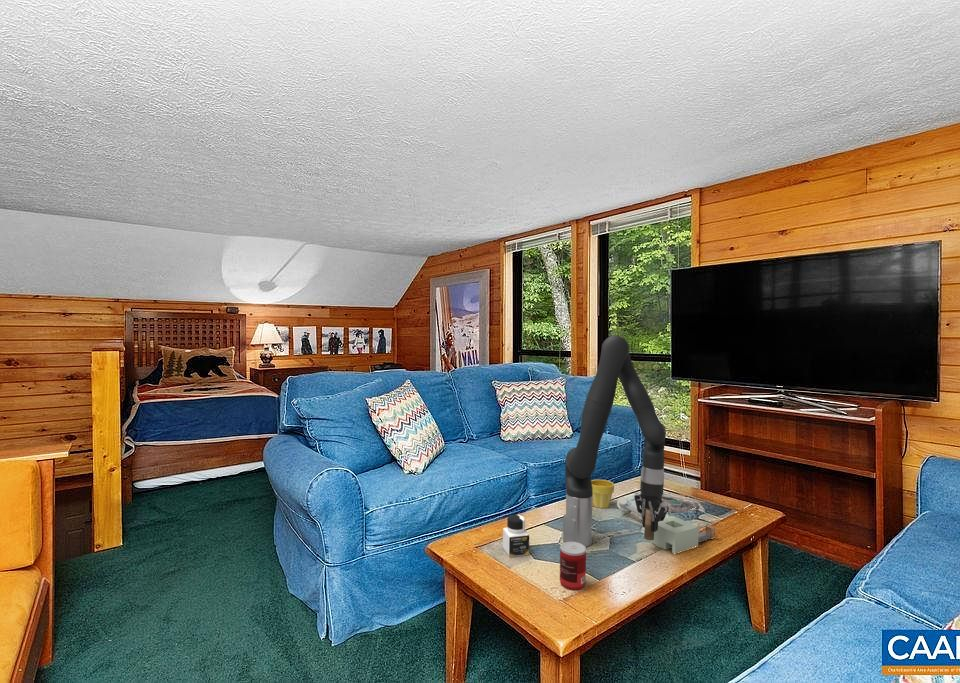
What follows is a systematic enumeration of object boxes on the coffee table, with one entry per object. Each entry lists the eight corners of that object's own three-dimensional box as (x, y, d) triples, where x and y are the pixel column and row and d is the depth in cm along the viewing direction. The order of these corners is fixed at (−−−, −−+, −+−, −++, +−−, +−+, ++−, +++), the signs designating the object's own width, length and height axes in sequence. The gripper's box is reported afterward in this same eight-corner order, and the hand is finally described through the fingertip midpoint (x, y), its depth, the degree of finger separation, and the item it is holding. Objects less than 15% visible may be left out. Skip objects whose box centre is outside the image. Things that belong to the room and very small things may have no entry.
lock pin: (691, 545, 171) (691, 534, 170) (685, 543, 173) (685, 532, 172) (714, 538, 177) (715, 527, 177) (709, 535, 179) (709, 525, 179)
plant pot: (600, 499, 216) (600, 477, 216) (618, 506, 207) (619, 484, 207) (583, 504, 210) (584, 481, 210) (602, 511, 202) (602, 488, 201)
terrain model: (643, 509, 206) (643, 502, 206) (649, 499, 219) (649, 492, 219) (694, 519, 196) (695, 511, 196) (698, 507, 210) (698, 500, 210)
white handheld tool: (669, 532, 178) (612, 500, 196) (673, 541, 182) (616, 509, 200) (677, 521, 180) (619, 490, 198) (679, 529, 184) (622, 499, 202)
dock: (674, 554, 165) (675, 533, 164) (649, 541, 174) (649, 521, 174) (698, 546, 170) (698, 526, 170) (672, 534, 180) (672, 515, 180)
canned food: (581, 576, 149) (582, 541, 149) (588, 590, 141) (589, 553, 141) (557, 576, 149) (557, 541, 149) (562, 590, 141) (563, 553, 141)
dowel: (649, 540, 165) (650, 512, 165) (642, 537, 168) (643, 508, 168) (655, 539, 167) (657, 510, 167) (648, 535, 170) (650, 507, 169)
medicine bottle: (509, 557, 161) (509, 521, 160) (502, 547, 168) (503, 513, 167) (529, 555, 163) (529, 519, 162) (521, 545, 170) (522, 511, 169)
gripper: (629, 475, 171) (626, 523, 172) (660, 487, 159) (657, 539, 159) (644, 472, 175) (642, 520, 175) (676, 485, 162) (673, 535, 163)
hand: (649, 529), depth 167 cm, fingers closed on dowel, 3 cm apart
